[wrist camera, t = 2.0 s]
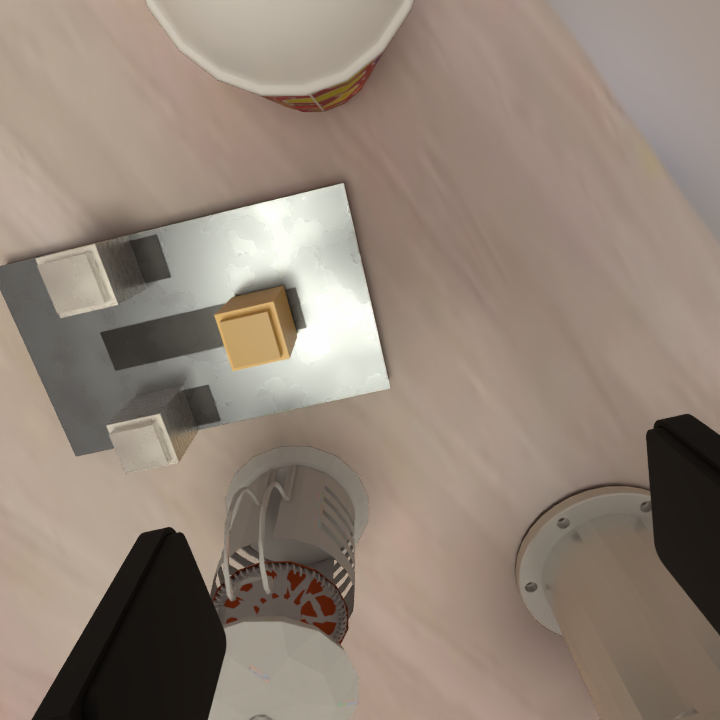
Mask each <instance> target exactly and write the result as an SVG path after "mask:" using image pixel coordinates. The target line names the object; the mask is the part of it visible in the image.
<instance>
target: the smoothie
mask: <svg viewBox="0 0 720 720" xmlns="http://www.w3.org/2000/svg"><path fill="white" fill-rule="evenodd" d="M145 2H146V5H147V7H148V9H149V10H150V12H151V13H152V15H153V16H154V17H155V19H156V20H157V21H158V23H159V24H160V25H161V27H162V28H163V30H164V31H165V32H166V34H167V35H168V36H169V38H170V39H171V41H172V42H173V43H174V45H175V46H176V47H177V49H178V50H179V51H180V52H181V53H183V54H184V55H185V56H187V57H188V58H189V59H191V60H192V61H193V62H194V63H196V64H197V65H198V66H200V67H201V68H202V69H204V70H205V71H206V72H208V73H209V74H210V75H212V76H213V77H214V78H216V79H217V80H218V81H221V82H224V83H227V84H229V85H232V86H235V87H238V88H241V89H243V90H246V91H249V92H252V93H254V94H257V95H260V96H262V97H264V98H267V99H269V100H272V101H274V102H276V103H279V104H281V105H283V106H286V107H289V108H293V109H296V110H299V111H302V112H320V111H327V110H329V109H332V108H334V107H337V106H339V105H342V104H344V103H346V102H347V101H348V100H349V99H350V98H351V97H353V96H354V95H355V94H356V93H357V92H358V91H360V90H361V89H362V87H363V85H364V84H365V82H366V80H367V79H368V77H369V75H370V74H371V72H372V71H373V68H374V67H375V65H376V63H377V62H378V60H379V58H380V56H381V55H382V53H383V51H384V50H385V48H386V47H387V45H388V44H389V42H390V41H391V39H392V38H393V36H394V35H395V33H396V32H397V30H398V29H399V27H400V26H401V24H402V23H403V21H404V20H405V18H406V17H407V15H408V14H409V12H410V11H411V9H412V5H413V2H414V0H145Z"/></svg>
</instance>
